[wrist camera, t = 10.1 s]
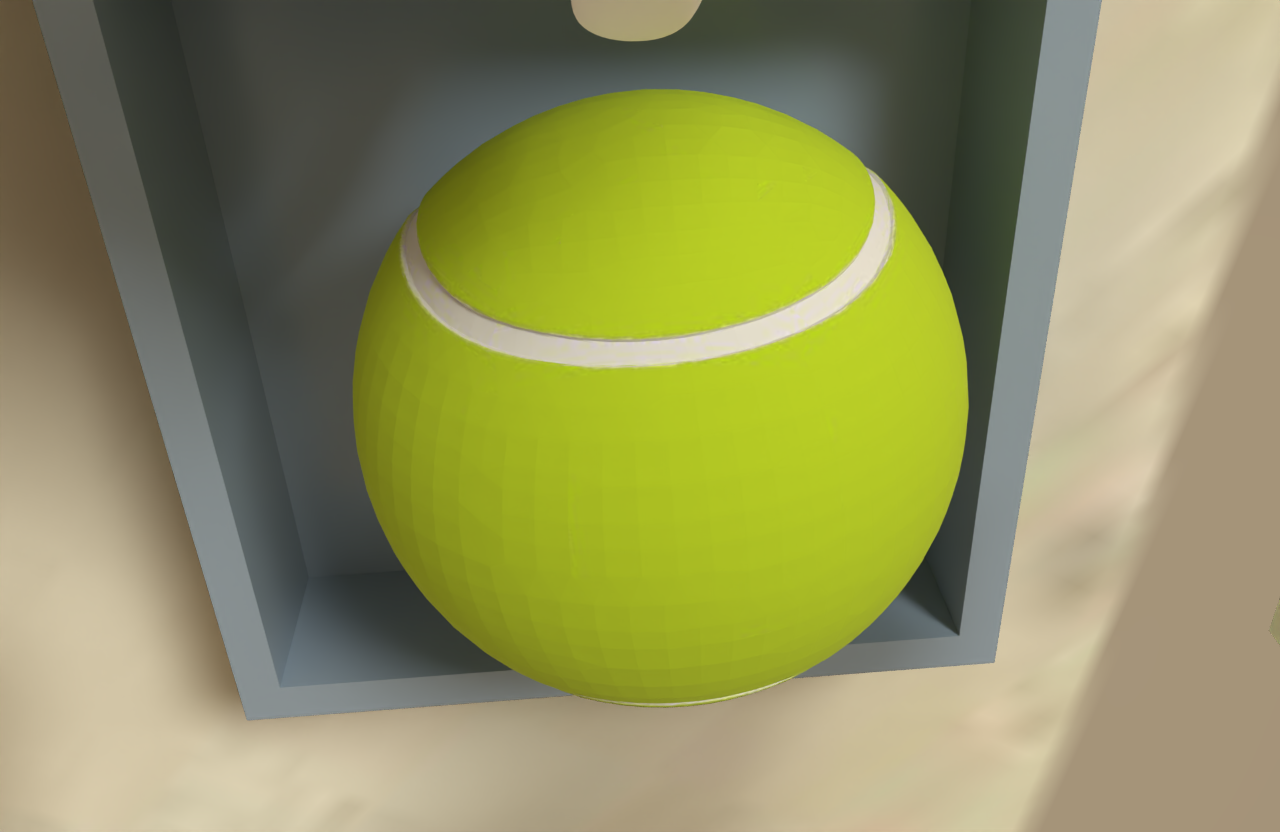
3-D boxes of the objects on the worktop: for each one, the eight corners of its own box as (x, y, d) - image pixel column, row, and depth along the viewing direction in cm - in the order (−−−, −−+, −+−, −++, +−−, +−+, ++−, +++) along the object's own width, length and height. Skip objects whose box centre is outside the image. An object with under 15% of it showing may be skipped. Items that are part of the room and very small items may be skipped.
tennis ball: (877, 450, 19) (1028, 806, 13) (436, 496, 19) (382, 874, 13) (891, -5, 15) (1112, 199, 9) (343, 47, 15) (209, 287, 9)
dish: (100, -135, 14) (3, -94, 12) (1025, -182, 15) (1126, -151, 12) (284, 588, 20) (246, 720, 18) (938, 541, 21) (994, 662, 18)
